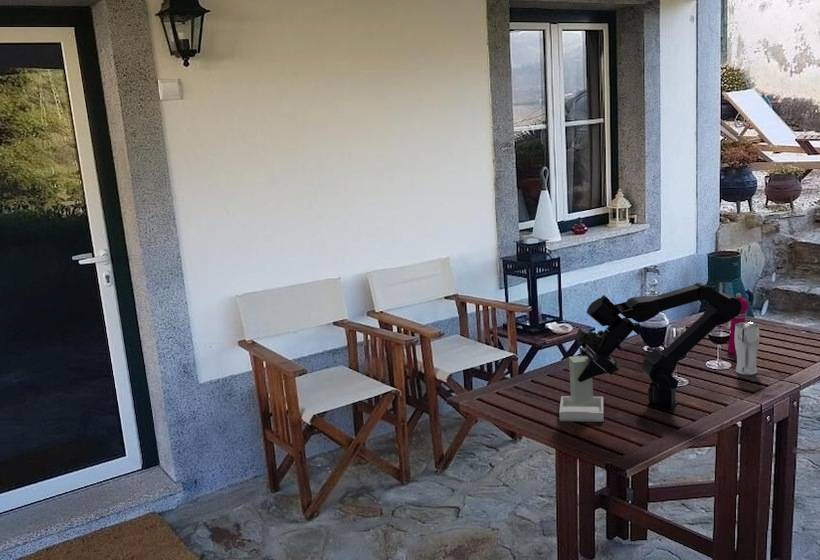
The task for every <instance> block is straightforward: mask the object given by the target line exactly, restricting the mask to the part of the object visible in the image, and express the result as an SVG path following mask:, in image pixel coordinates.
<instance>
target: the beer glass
mask: <svg viewBox="0 0 820 560" xmlns="http://www.w3.org/2000/svg"><path fill="white" fill-rule="evenodd" d="M734 338H735V349H736V354H735V355H736V366H735V373H736V374H739V375H743V376H752V375H753V376H754V375H756V374H757V373H758V368H757V355H758V352H759V351H758V350H759V346H760V325H759V324H758V323H755V322H751V321H750V322H746V321H745V322H742V323H737V324H736V325H735V337H734Z"/></svg>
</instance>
